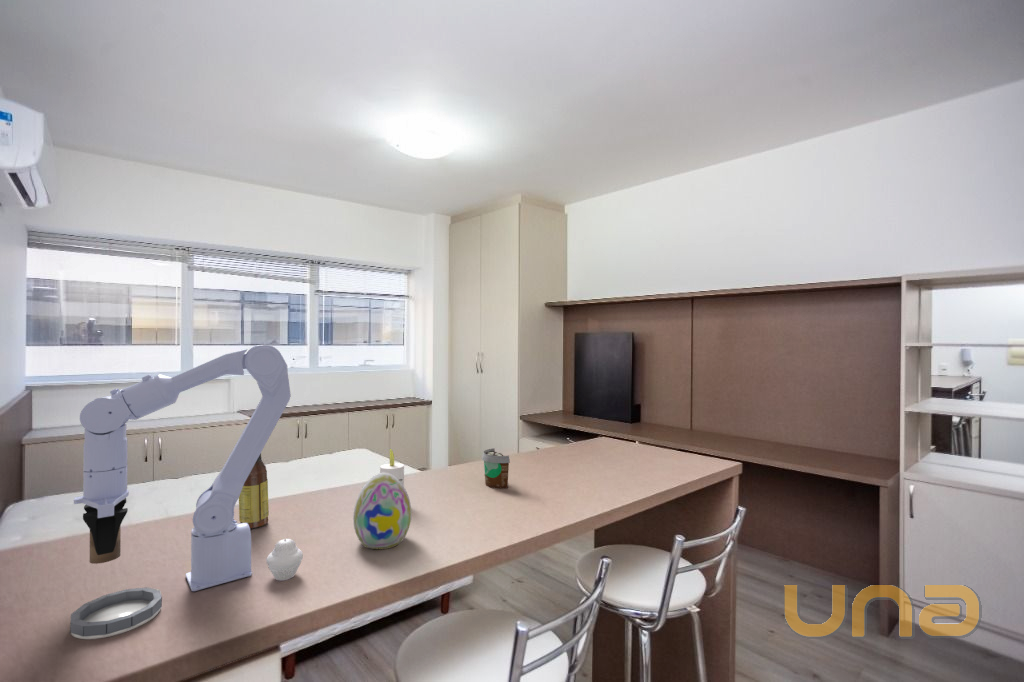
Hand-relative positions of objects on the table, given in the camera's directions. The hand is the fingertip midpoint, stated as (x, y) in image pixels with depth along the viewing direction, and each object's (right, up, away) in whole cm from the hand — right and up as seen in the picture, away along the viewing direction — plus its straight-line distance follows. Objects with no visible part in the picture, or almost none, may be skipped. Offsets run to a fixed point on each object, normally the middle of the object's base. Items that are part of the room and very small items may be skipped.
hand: (105, 548), depth 82 cm
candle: (+37, -9, +49) cm, 61 cm away
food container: (+63, -10, +67) cm, 92 cm away
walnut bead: (0, -2, 0) cm, 2 cm away
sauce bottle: (+7, -9, +34) cm, 36 cm away
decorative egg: (+40, -9, +24) cm, 48 cm away
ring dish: (+7, -9, -6) cm, 12 cm away
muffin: (+27, -9, +8) cm, 29 cm away
